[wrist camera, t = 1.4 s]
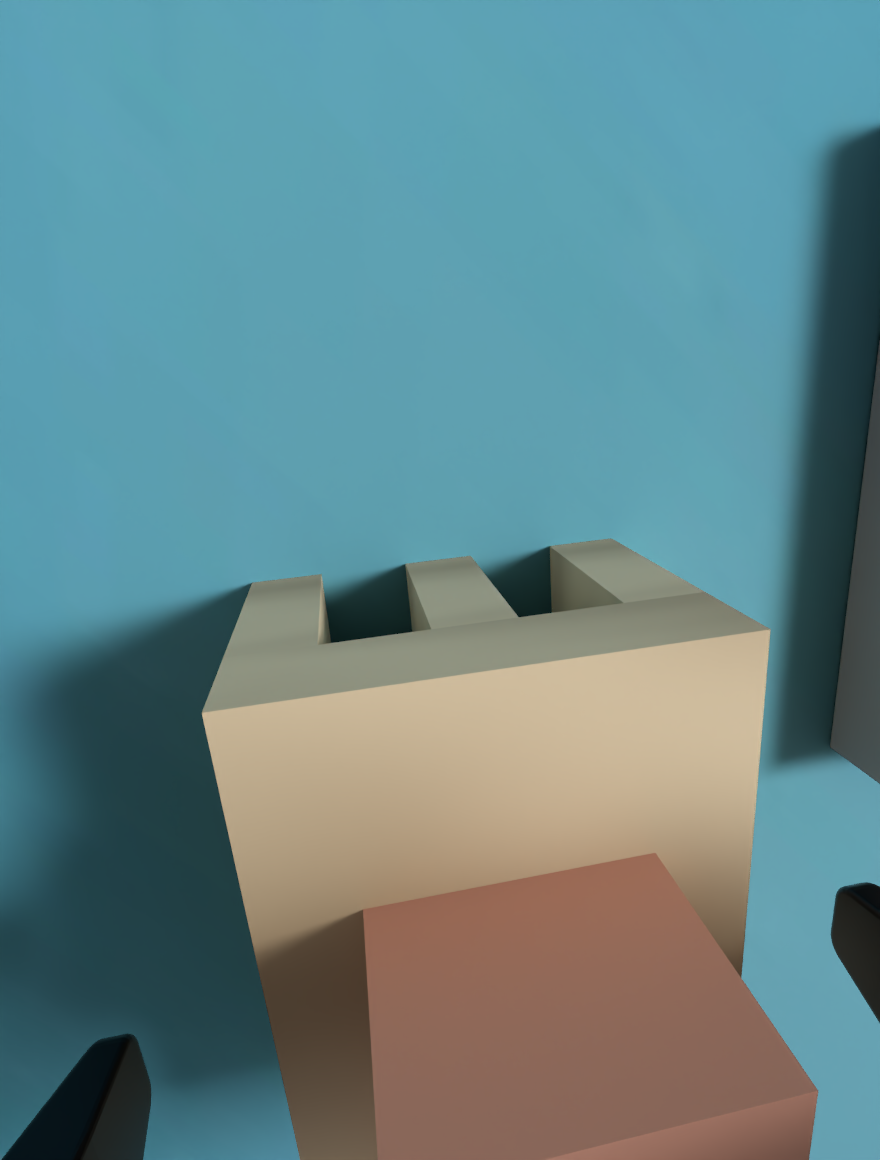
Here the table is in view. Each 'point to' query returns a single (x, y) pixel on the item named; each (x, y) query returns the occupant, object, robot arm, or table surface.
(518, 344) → the table surface
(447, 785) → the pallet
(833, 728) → the dock
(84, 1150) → the robot arm
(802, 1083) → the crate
